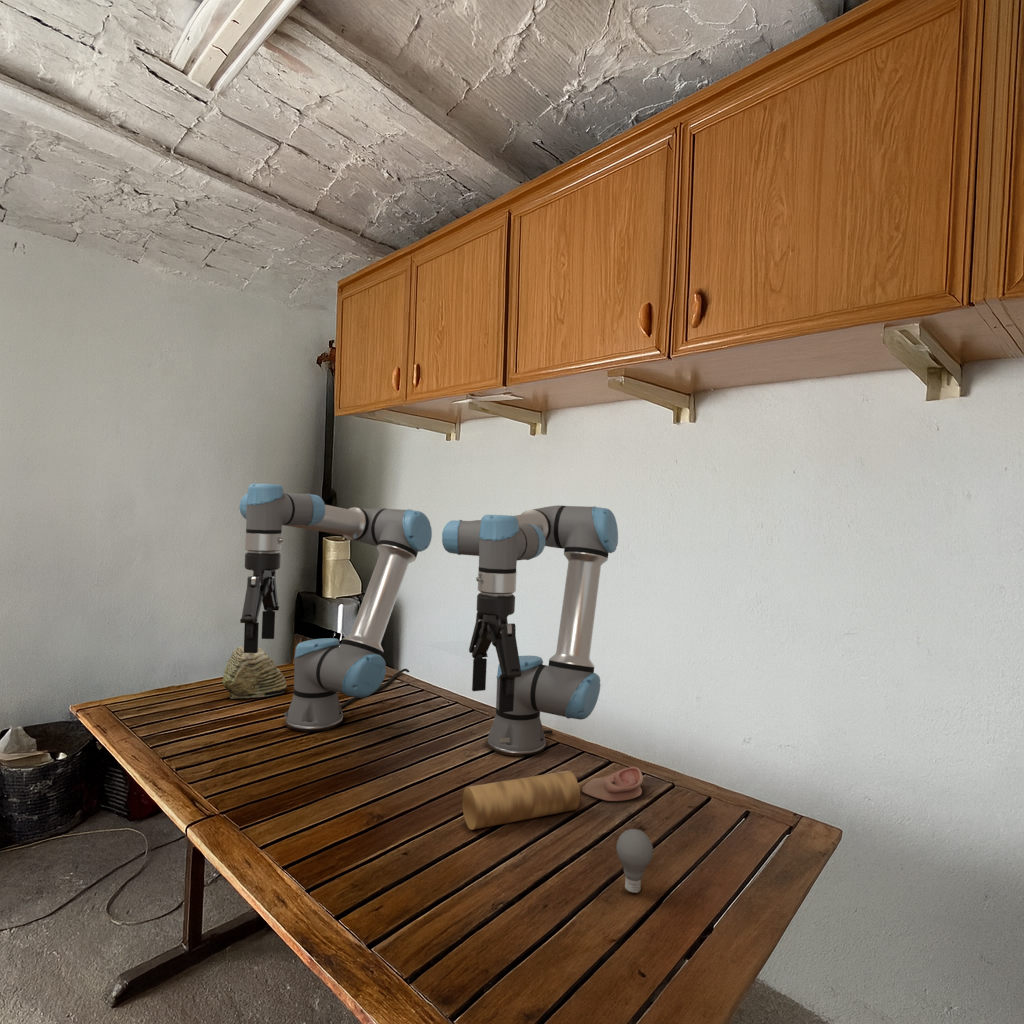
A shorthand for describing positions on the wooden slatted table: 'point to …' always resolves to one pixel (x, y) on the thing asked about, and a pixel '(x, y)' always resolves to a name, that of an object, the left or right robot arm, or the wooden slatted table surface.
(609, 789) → the anatomical model
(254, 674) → the fossil
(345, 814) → the wooden slatted table surface
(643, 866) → the light bulb
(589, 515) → the right robot arm
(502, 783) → the tan wooden cylinder
